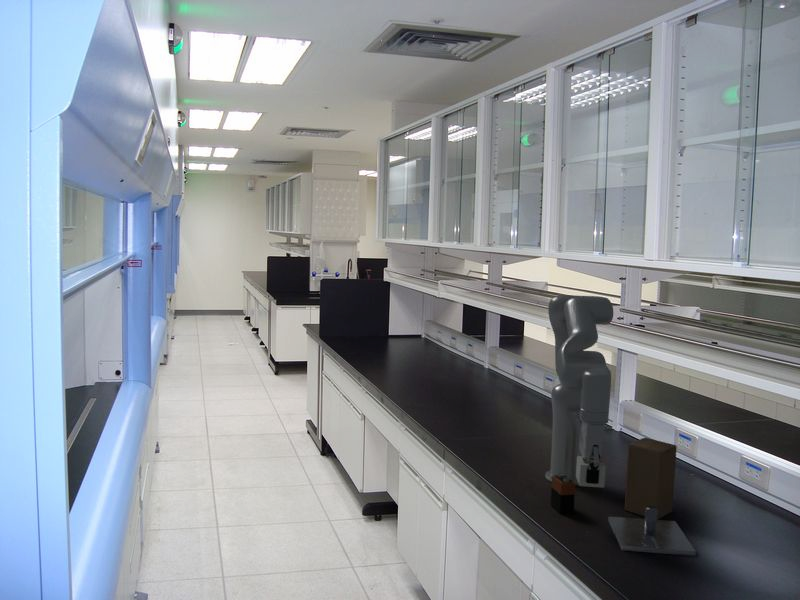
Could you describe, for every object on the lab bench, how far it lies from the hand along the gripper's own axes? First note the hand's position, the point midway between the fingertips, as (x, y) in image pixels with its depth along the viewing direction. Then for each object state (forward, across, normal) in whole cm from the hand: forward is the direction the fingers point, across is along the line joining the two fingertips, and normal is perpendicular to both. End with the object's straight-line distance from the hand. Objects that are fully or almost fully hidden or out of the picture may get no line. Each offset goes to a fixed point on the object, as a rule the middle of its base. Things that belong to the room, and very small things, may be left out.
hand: (590, 477), depth 190 cm
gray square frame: (+1, 0, 0) cm, 1 cm away
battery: (+14, -8, -6) cm, 17 cm away
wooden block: (+14, -10, +19) cm, 26 cm away
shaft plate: (+13, +7, +15) cm, 21 cm away
